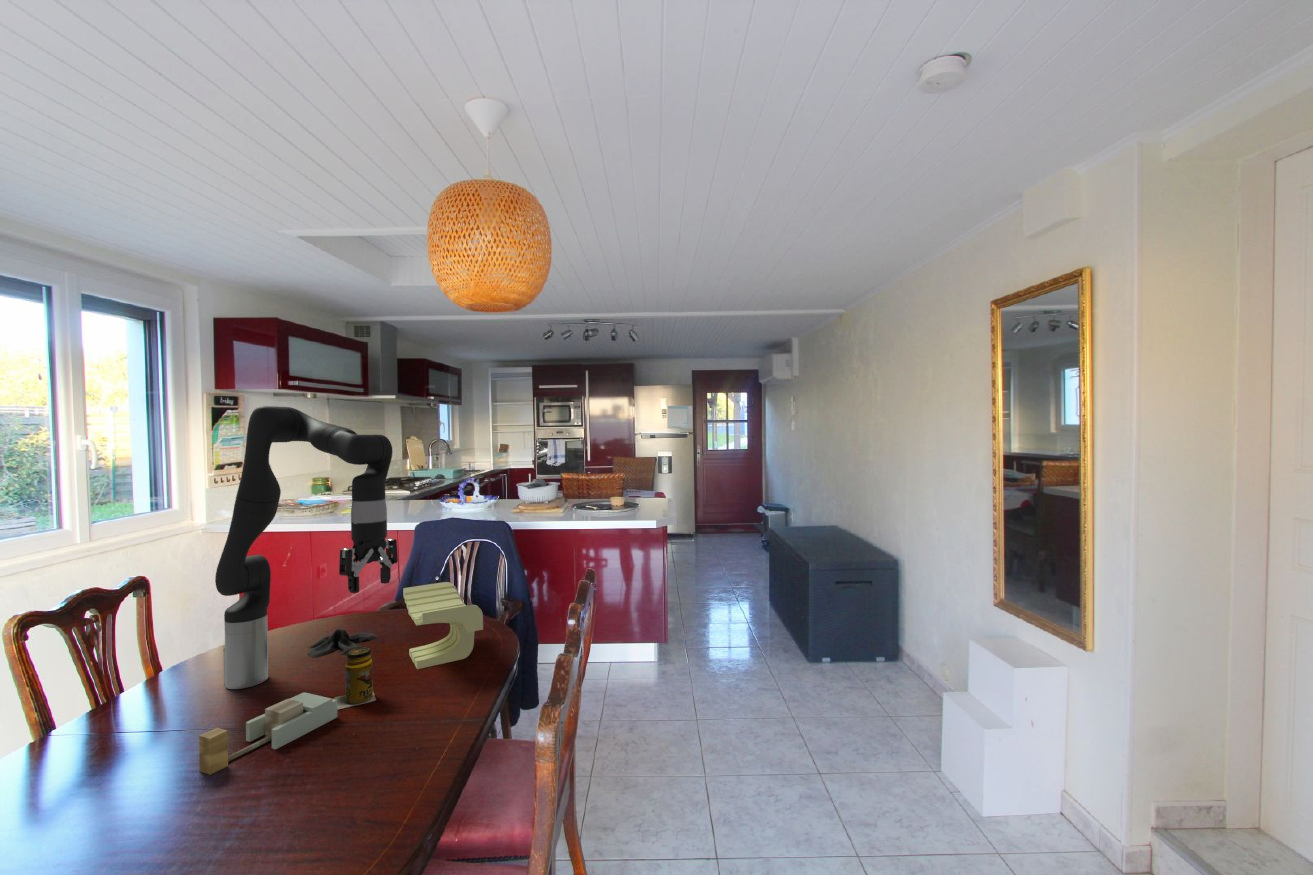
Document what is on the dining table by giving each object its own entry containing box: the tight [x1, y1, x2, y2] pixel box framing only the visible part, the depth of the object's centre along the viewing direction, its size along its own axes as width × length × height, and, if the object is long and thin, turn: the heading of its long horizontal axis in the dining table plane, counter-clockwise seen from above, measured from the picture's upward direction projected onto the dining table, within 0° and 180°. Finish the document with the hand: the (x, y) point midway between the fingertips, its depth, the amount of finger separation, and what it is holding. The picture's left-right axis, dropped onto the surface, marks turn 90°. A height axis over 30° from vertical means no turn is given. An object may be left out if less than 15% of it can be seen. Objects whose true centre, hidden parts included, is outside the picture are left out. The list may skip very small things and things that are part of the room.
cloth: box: [307, 628, 379, 659], centre depth 174 cm, size 22×19×6 cm
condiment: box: [333, 646, 377, 711], centre depth 138 cm, size 7×8×12 cm
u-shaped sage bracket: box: [245, 691, 338, 750], centre depth 124 cm, size 9×14×5 cm, turn 158°
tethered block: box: [198, 698, 303, 776], centre depth 116 cm, size 5×18×7 cm, turn 158°
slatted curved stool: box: [403, 581, 484, 670], centre depth 165 cm, size 30×16×18 cm, turn 33°
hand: (370, 587), depth 132 cm, fingers open, 8 cm apart
